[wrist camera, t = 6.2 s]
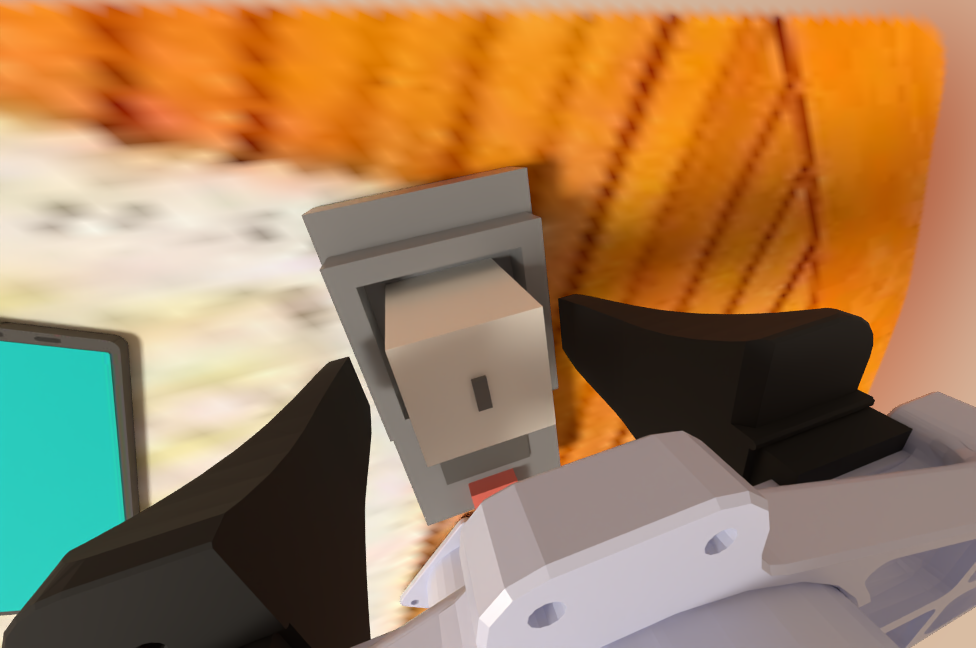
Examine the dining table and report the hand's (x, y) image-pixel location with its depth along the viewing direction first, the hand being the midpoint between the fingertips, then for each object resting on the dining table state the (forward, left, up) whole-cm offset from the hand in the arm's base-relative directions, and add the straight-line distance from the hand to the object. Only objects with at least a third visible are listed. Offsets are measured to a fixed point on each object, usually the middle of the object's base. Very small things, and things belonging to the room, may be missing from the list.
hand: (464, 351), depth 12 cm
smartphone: (+11, +15, -5) cm, 19 cm away
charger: (0, 0, -2) cm, 2 cm away
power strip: (-3, +3, -4) cm, 6 cm away
